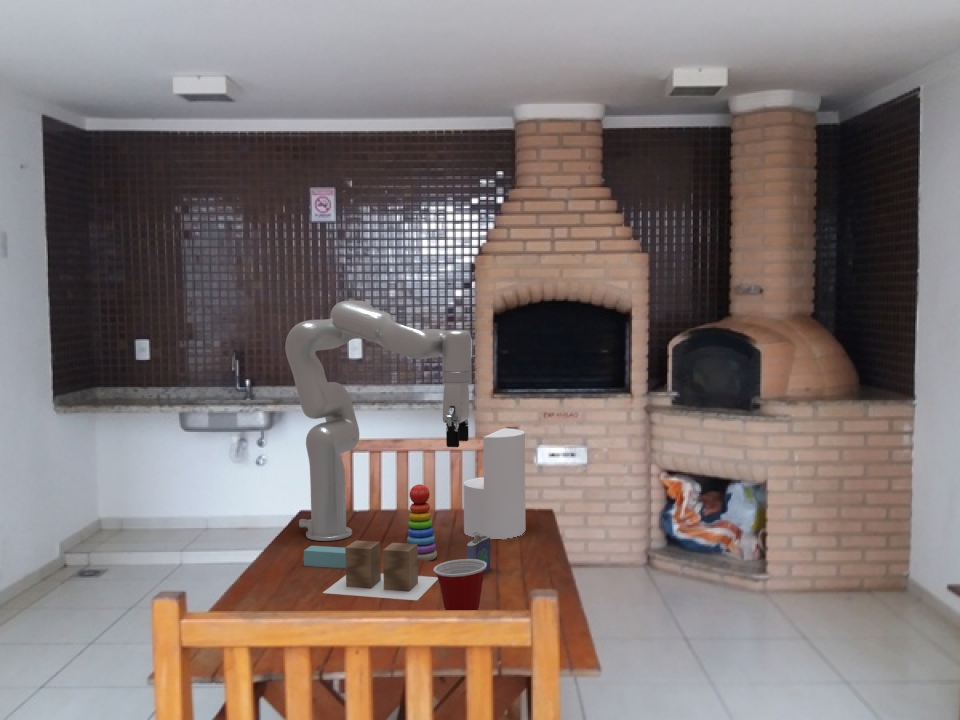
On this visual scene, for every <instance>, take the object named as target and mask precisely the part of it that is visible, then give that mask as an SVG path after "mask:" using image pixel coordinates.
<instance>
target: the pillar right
mask: <svg viewBox="0 0 960 720" xmlns="http://www.w3.org/2000/svg"><path fill="white" fill-rule="evenodd" d="M382 556H383V557H382V561H383V563H382V567H383V568H382V569H383V570H382V571H383V572H382V573H383V574H384V590H394V591H407V592H410V591H411V590H412V589H413V588H414V587H415V586H416V585H417V584H418V576H419V563H418V561H419V560H418V549H417V544H408V543H402V542H391V543H390V544H388V546H386V547H385V548H383V549H382Z"/></svg>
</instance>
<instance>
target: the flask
mask: <svg viewBox="0 0 960 720" xmlns="http://www.w3.org/2000/svg"><path fill="white" fill-rule="evenodd" d="M475 533H476V534H475ZM475 533H473V535H474V534H475V537H474V538H473V539H471V541H469V542H468V543H467V544H466V559H477V560H481V561H484V562H485V563H487V566H486V569H485V571H484V574H485V573H487V572H490V571H491V540H490V537H489V536H483V535H482V536H480V535H481V534H479V533H477V532H475Z"/></svg>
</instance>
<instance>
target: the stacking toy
mask: <svg viewBox="0 0 960 720" xmlns="http://www.w3.org/2000/svg"><path fill="white" fill-rule="evenodd" d="M429 498H430V490H429V488H428V487H427V486H426V485H423V484H421V483H420V484H415V485H414V486H412V487H411V488H410V490H409V499H410V500H411V502H412V503H411V504H410V506H409V509H410V511H411V512H410V513H409V514H408V518H409V521H408V527H409V528H408V529H407V534H408V536H407V544H417V549H418V561H421V562H424V561H425V562H429V561H432V560H434V559H436V557H437V555H438V553H437V552H438V551H437V550H436V548H437V545H436V542H435V540H436V536H435V535H434V533H435V529H434V527H433V521H432V519H431V516H432V514H431V512H430V510H431V505H430V504H429V503H428V501H429Z"/></svg>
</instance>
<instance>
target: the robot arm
mask: <svg viewBox="0 0 960 720" xmlns="http://www.w3.org/2000/svg"><path fill="white" fill-rule="evenodd" d="M355 338H361V339H364V340H367V341H369V342H373V343H376V344H378V345H380V347H383V348H384V349H386V350H387V351H389V352H393V353H395V354H397V355H401V356H404V357H408V358H410V359H413V360H426V359H433V358H440V357H441V358H442V361H441V363H442V364H441V365H442V366H441V367H442V368H441V369H442V372H441V373H442V385H444V389H443V396H442V397H443V399H442V400H443V401H442V403H443V404H442V422H443V423H445V425H446V427H445V431H446V432H445V433H446V434H445V435H446V436H445V437H446V444H445V445H446V447H447V448H459V447H460V442H468V441H469V420H468V419H469V417H470V390H469V389H470V388H469V385H472V382H473V379H472V378H473V377H472V375H473V374H472V373H473V372H472V369H473V368H472V334H471V332H470V331H469V330H466V329H464V330H463V329H451V330H449V329H447V330H446V329H439V328H428V329H427V328H426V329H425V328H424V329H417V328H412V327H409V326H406V325H403V324H401V323H398V322H396V321H394V319H393V316H392V315H391V314H390V313H389V312H386V311H383V310H379V309H377V308H374V307H373V306H372V305H371V304H370V302H369V303H368V302H367V301H365V300H343V301H340V302H338V303H336V304H335V305H334V306H333V307H332V309H331V311H330V318H328V319H309V320H305V321H301V322H299V323H297V324H295V326H293V327H292V328H291V329H290V331H289V332H288V334H287V336H286V340H285V347H284V349H285V354H286V358H287V361H288V364H289V366H290V370H291V373H292V376H293V380H294V385H295V388H296V392H297V395H298V396H297V397H298V400H299V403H300V406H301V410H302V411H303V413H304V415H305V416H306V417H307V418H309V419H314V420H316V419H318V420H319V419H325V422H322V423H321V422H320V423H318V424H315V425H314V426H313V427H312V428H311V429H309V431H308V433H307V434H306V437H305V438H306V439H305V446H306V452H307V456H308V463H309V478H310V479H309V480H310V483H309V484H310V515H311V516H310V517H311V518H310V519H306V518H301V519H299V521H298V525H299V526H298V527H299V528H306V529H307V531H306V532H305V536H306V538H307V539H309V540H311V541H317V542H318V541H319V542H330V541H333V542H334V541H339V540H344V539H347V538H349V537H351V536H352V535H353V530H352V528H350V527H348V526H347V506H346V505H347V502H346V501H347V498H346V495H347V494H346V471H345V465H344V461H343V459H342V456H341V454H343V453H346V452H348V451H352V450H353V449H355V447H356V446H357V445H358V443H359V442H360V440H359V439H360V428H359V423H358V421H357V418H356V417H357V416H356V414H355V411H354V406H353V402H352V399H351V395H350V394H349V392H348V390H347V389H346V387H345V386H344V385H342V384H341V383H339V382H334V381H329V382H328V380H327V377H326V373H325V369H324V367H323V366H324V365H323V364H322V362H321V361H320V358H318V356H317V354H316V352H317V351H323V350H324V351H325V350H326V351H327V350H333V349H336V348H339V347H341V346H343V345H345V344H347V343H348V342H350V341H351V340H353V339H355Z"/></svg>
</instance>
